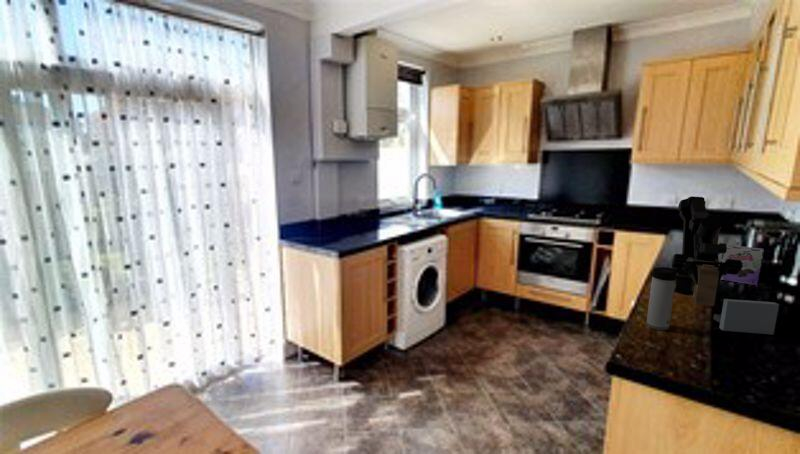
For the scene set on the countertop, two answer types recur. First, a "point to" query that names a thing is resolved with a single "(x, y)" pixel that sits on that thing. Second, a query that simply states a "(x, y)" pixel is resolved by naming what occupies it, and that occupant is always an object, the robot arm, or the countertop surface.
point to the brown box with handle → (706, 285)
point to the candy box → (744, 264)
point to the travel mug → (661, 298)
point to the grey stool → (748, 316)
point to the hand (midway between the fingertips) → (706, 285)
